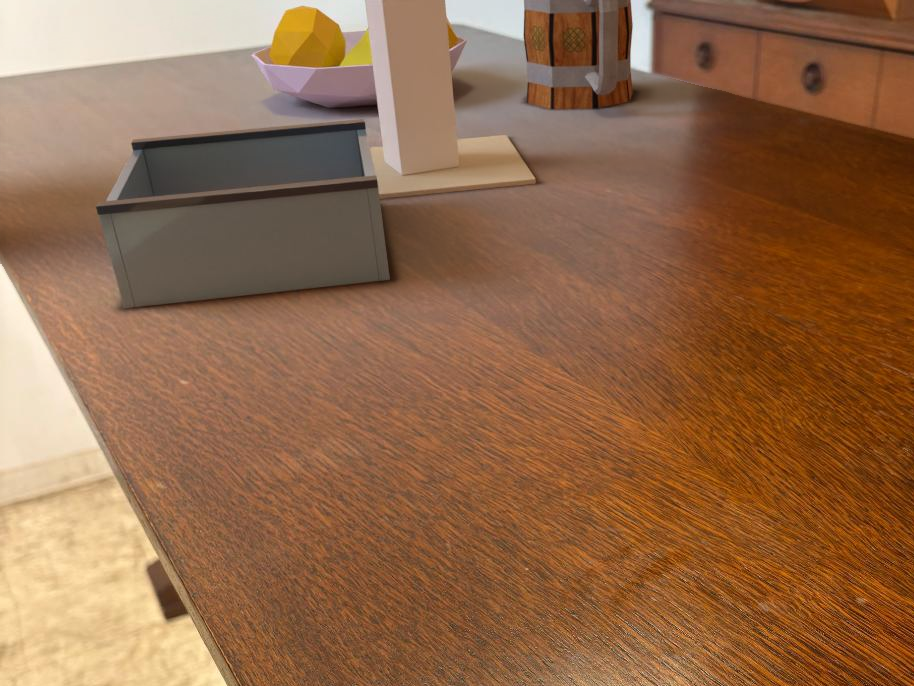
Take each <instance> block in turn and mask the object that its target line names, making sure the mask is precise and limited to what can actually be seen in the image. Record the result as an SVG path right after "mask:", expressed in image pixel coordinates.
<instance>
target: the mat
mask: <svg viewBox="0 0 914 686" xmlns="http://www.w3.org/2000/svg"><path fill="white" fill-rule="evenodd" d="M457 146H458V157H459V166H458V167H453V168H447V169H441V170H434V171H428V172H422V173H415V174H409V175H401V174H400V173H398V172H397V171H396V170H395V169H393V168H392V167H391V166H389V165H388V164H387V163H386V162H385V161H384V153H383V145H382V146H370V151H371V156H372V161H373V165H374V170H375V175H376V176H377V182H378V190H379V198H380V200H381V199H382V200H383V199H393V198H403V197H404V198H405V197H413V196H423V195H434V194H443V193H453V192H462V191H463V192H464V191H474V190H484V189H494V188H504V187H515V186H516V187H517V186H524V185H525V186H526V185H535V184H537V180H536V177H535V176H534V174H533V173H532V171H531V170H530V168H529V167H528V165H527V163H526V162H525V161H524V159H523V158H522V157H521V155H520V153H519V152H518V151H517V149H516V147H515V146H514V145H513V143H512V142H511V140H510V139H509V137H508V135H507V134H499V135H490V136H478V137H467V138H457Z"/></svg>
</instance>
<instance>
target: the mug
mask: <svg viewBox="0 0 914 686" xmlns="http://www.w3.org/2000/svg"><path fill="white" fill-rule="evenodd" d="M523 7H524V8H523V9H524V10H523V42H524V51H525V59H526V72H527V73H526V74H527V75H526V76H527V87H526V104H528V105H529V104H530V105H533V106H537V107H541V108H544V109H549V110H596V109H602V108H605V107H610V106H615V105H621V104H624V103H628V102H629V103H630V101H631V98H632V96H633V93H634V90H633V81H632V72H631V71H632V69H631V64H632V63H631V59H632V57H631V56H632V55H631V52H632V38H633V29H634V28H633V25H634V23H633V12H632V1H631V0H523Z"/></svg>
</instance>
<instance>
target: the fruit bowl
mask: <svg viewBox="0 0 914 686" xmlns="http://www.w3.org/2000/svg"><path fill="white" fill-rule="evenodd" d="M447 28H448V40H449V52H450V63H451V75H452V74H453V72H454V70H455V68H456V66H457V64H458V62H459V59H460V57H461V55H462V53H463V50H464V49H465V47H466V44H467V42H468V39H466V38H464V37H461V36H459V35H457V34H456V32H455V31H454V28H453V26H452V25H451V22H450V21H449V18H447ZM271 41H272V42H271V45H269V46H267V47H265V48H263V49H260V50H258V51H256V52H253V53H251V54H250V55H251V57H252V59H253V60H254V61H255V63H256V65H257V66H258V68H259V69H260V71H261V72H262V74H263V76H264V77H265V79H266V80H267V82H268V83H269V85H270V86H271V88H272V89H273V90H274V91H277V92H281V93H283V94H286V95H289V96H292V97H295V98H298V99H301V100H304V101H306V102H310V103H313V104H316V105H319V106H322V107H324V108H328V109H334V108H335V109H336V108H351V107H365V106H378V104H377V96H376V88H375V79H374V71H373V63H372V55H371V47H370V39H369V30H368V27H367V28H366V30H358V31H342V29H341V27H340V24H339V23H337V22H335V20H333V19H332V18H330V17H329V16H328V15H326V14H325V13H324V12H322V11H321V10H320V9H319V8H316V7H311V6H306V5H300V6H296V7H293V8H290V9H289V8H288V9H287V10H285V11H284V13H283V14H282V17H281V19H280V21H279V23H278V25H277V27H276V29H275V31H274V33H273V37H272V40H271Z"/></svg>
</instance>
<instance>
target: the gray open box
mask: <svg viewBox="0 0 914 686" xmlns="http://www.w3.org/2000/svg"><path fill="white" fill-rule="evenodd" d="M130 144H131V148H132V151H131V153H130V155H129V157H128V159H127V160H126V162H125V165H124V166H123V168H122V169H121V172H120V173H119V176H118V178H117V180H116V181H115V183H114V185H113V187H112V189H111V190H110V192H109V195H108V197H107V199H106V200H105V201H98V202H97V204H96V206H95V209H96V213H97V215H98V218H99V221H100V224H101V228H102V232H103V236H104V240H105V243H106V246H107V250H108V251H107V252H108V254H109V257H110V258H109V259H110V262H111V264H112V269H113V272H114V276H115V280H116V284H117V288H118V291H119V295H120V298H121V302H122V306H123V308H124V309H131V308H139V307H141V308H142V307H149V306H158V305H159V306H160V305H166V304H167V305H169V304H175V303H176V304H177V303H186V302H187V303H188V302H196V301H204V300H205V301H206V300H214V299H223V298H233V297H242V296H251V295H261V294H270V293H278V292H280V293H281V292H287V291H289V292H290V291H299V290H307V289H317V288H324V287H334V286H344V285H352V284H363V283H372V282H379V281H380V282H381V281H382V282H383V281H389V280H391V276H390V270H389V259H388V253H387V247H386V245H387V244H386V238H385V230H384V221H383V214H382V207H381V201H380V200H381V199H380V198H379V190H378V182H377V176H376V175H375V170H374V165H373V161H372V156H371V151H370V147H371V146H370V141H369V137H368V133H367V126H366V120H365V119H364V118H359V119H350V120H349V119H348V120H338V121H326V122H315V123H306V124H305V123H303V124H295V125H294V124H293V125H292V124H291V125H282V126H281V125H280V126H270V127H257V128H248V129H237V130H235V129H234V130H225V131H224V130H223V131H214V132H202V133H191V134H180V135H179V134H178V135H170V136H169V135H167V136H158V137H147V138H135V139H132V140H131V143H130Z"/></svg>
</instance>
